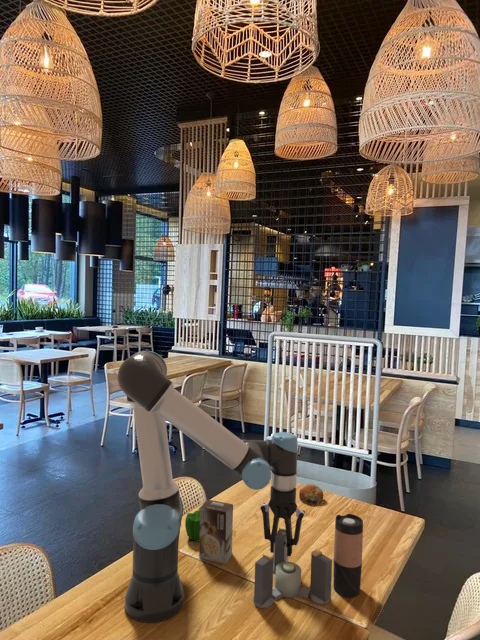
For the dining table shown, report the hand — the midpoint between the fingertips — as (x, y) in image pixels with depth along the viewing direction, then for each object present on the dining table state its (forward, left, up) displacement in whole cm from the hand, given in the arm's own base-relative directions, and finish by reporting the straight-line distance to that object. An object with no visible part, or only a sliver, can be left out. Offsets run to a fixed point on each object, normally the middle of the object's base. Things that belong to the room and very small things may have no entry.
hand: (280, 564), depth 131 cm
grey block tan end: (0, 0, -2) cm, 2 cm away
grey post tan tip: (+5, -15, -2) cm, 16 cm away
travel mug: (+14, -13, -2) cm, 20 cm away
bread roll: (+32, +43, -2) cm, 53 cm away
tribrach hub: (-2, -9, -2) cm, 9 cm away
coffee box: (-17, +13, -2) cm, 21 cm away
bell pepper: (-20, +25, -2) cm, 32 cm away
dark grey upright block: (-10, -12, -2) cm, 16 cm away
